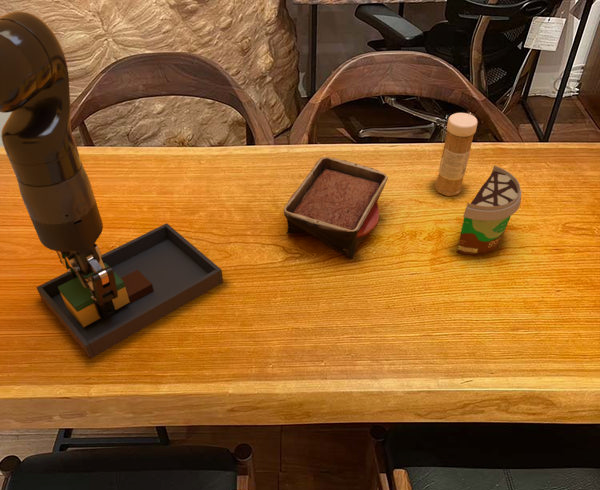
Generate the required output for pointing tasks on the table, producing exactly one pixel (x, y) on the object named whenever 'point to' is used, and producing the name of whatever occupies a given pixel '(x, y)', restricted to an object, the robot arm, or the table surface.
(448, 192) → the sprinkles bottle
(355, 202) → the soil filled planter
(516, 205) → the food container
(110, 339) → the pan
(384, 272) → the table surface
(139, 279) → the burnt scrap
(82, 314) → the sponge
